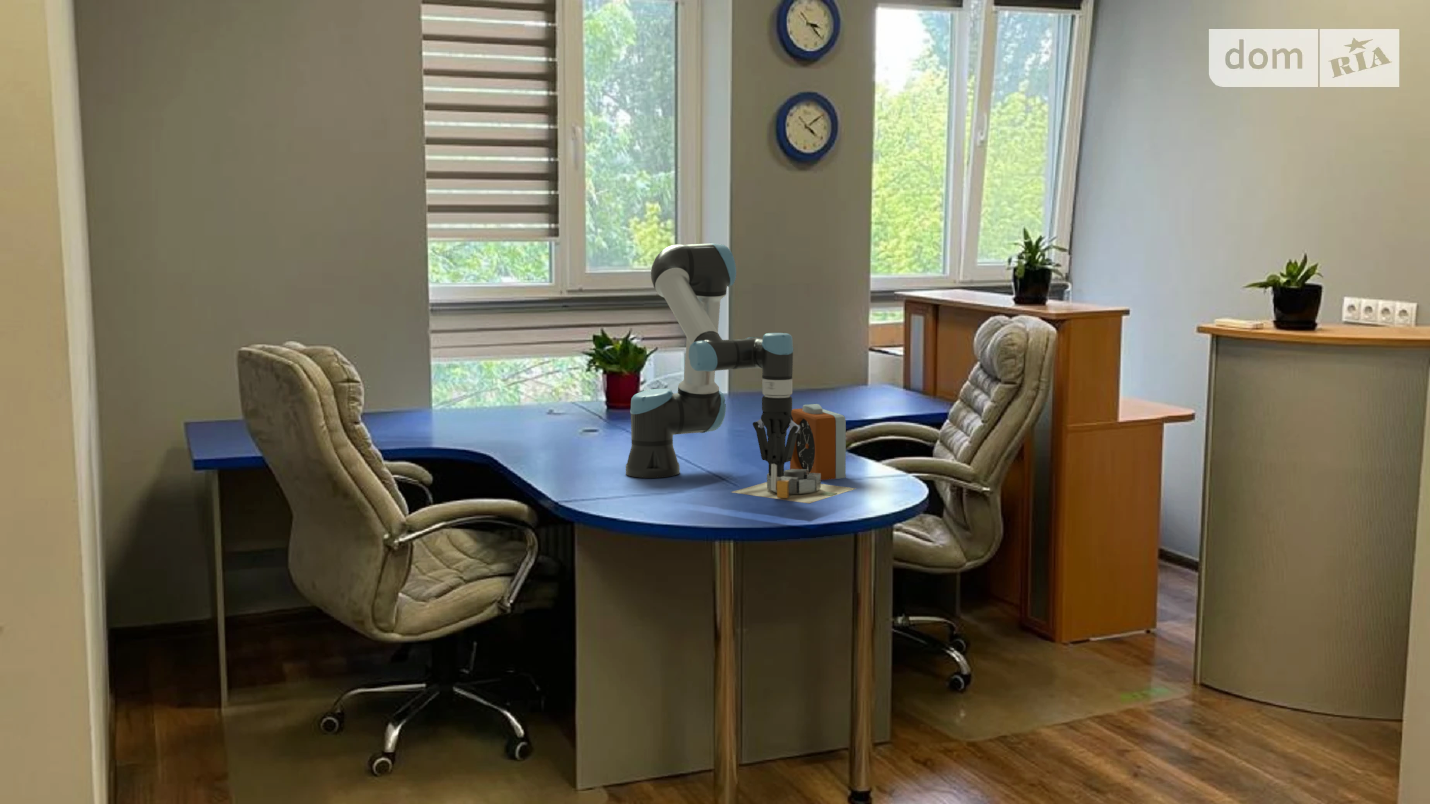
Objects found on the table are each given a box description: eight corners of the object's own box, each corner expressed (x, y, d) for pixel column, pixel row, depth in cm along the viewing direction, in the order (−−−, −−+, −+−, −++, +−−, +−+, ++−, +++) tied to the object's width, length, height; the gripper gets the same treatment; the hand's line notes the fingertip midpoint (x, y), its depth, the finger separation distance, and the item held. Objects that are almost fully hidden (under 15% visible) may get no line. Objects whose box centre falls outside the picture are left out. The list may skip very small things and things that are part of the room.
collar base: (730, 497, 343) (730, 472, 343) (780, 483, 361) (780, 460, 360) (809, 509, 329) (809, 483, 328) (856, 494, 346) (856, 469, 345)
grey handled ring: (775, 482, 353) (775, 467, 352) (824, 484, 349) (824, 469, 348) (757, 496, 335) (756, 480, 335) (807, 499, 331) (807, 482, 331)
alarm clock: (788, 474, 375) (788, 400, 372) (817, 471, 378) (817, 399, 375) (817, 486, 358) (816, 409, 355) (846, 483, 361) (846, 407, 358)
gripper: (747, 395, 333) (746, 488, 336) (792, 399, 326) (790, 494, 329) (762, 392, 339) (761, 483, 343) (807, 395, 333) (805, 489, 336)
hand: (776, 489), depth 336 cm, fingers closed
